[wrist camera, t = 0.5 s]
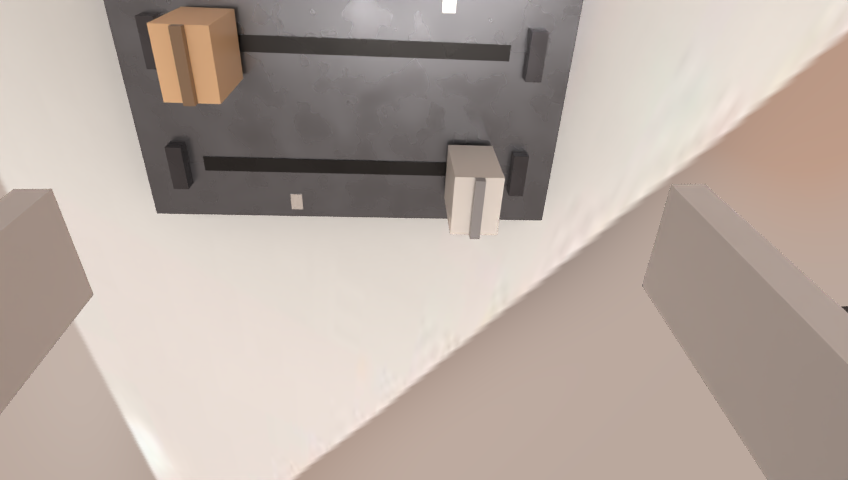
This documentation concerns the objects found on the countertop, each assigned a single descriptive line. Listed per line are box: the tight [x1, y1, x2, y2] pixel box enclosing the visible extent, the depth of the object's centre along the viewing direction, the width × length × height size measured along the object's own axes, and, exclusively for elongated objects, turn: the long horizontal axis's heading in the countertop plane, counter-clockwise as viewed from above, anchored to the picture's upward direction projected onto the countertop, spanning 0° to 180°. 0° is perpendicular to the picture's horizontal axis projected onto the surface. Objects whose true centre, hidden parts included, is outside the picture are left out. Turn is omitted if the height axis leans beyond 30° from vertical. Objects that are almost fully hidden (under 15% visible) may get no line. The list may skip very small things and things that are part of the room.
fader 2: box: [444, 145, 505, 239], centre depth 35 cm, size 4×3×6 cm
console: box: [104, 0, 583, 220], centre depth 35 cm, size 16×28×3 cm, turn 87°
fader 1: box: [147, 7, 243, 106], centre depth 30 cm, size 4×3×6 cm
